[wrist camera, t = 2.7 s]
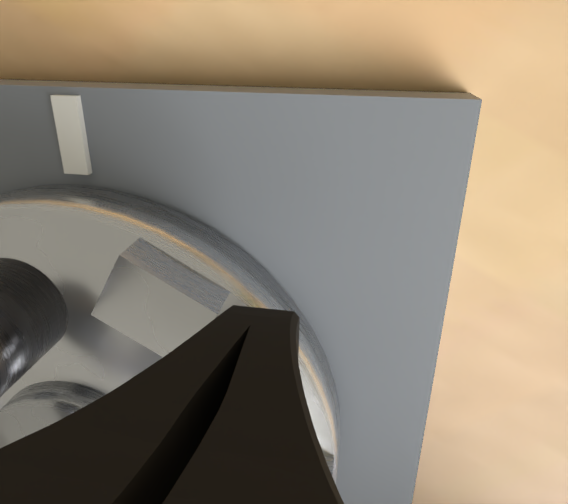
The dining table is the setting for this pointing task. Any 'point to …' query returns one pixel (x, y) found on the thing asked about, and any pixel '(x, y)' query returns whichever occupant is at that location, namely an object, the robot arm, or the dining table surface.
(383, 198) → the boss plate
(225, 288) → the grey turntable disc
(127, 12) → the dining table surface
